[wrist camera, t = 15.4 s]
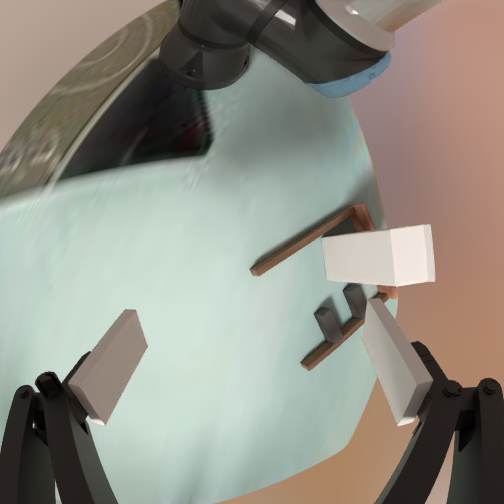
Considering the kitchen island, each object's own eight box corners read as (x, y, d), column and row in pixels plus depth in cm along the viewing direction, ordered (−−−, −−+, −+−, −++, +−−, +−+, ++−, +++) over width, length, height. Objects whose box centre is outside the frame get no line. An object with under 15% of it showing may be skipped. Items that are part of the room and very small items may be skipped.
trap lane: (249, 269, 40) (260, 270, 36) (349, 206, 47) (364, 202, 43) (302, 366, 43) (315, 374, 39) (383, 294, 50) (398, 296, 46)
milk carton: (326, 280, 45) (420, 288, 27) (320, 237, 45) (415, 226, 27) (356, 272, 47) (446, 275, 30) (351, 232, 47) (441, 222, 30)
